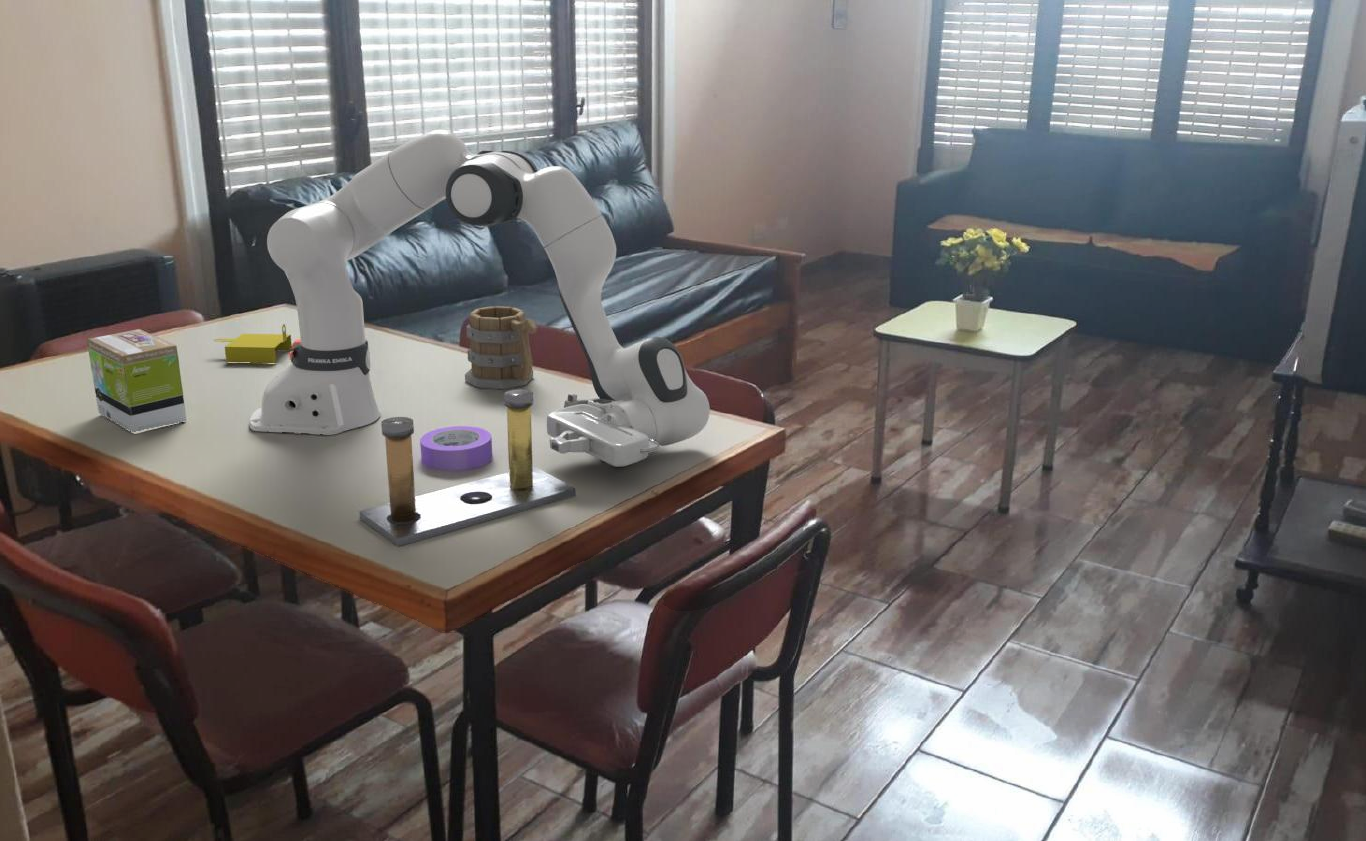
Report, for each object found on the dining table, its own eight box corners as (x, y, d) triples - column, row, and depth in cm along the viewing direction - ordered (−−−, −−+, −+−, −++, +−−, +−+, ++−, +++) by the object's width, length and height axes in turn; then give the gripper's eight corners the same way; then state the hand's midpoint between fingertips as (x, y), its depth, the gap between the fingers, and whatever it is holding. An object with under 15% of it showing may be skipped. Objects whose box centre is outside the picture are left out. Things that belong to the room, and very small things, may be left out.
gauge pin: (516, 491, 183) (513, 400, 178) (501, 482, 186) (498, 393, 181) (541, 484, 185) (538, 394, 180) (525, 476, 188) (522, 387, 184)
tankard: (456, 377, 243) (453, 305, 238) (511, 367, 250) (509, 297, 245) (504, 403, 228) (502, 326, 223) (561, 391, 235) (560, 317, 230)
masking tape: (429, 475, 193) (428, 453, 191) (414, 452, 203) (413, 430, 202) (500, 466, 197) (499, 444, 196) (482, 443, 207) (481, 422, 206)
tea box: (96, 416, 217) (84, 337, 212) (151, 404, 224) (140, 327, 219) (132, 436, 208) (121, 353, 203) (189, 422, 215) (179, 342, 210)
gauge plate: (398, 546, 167) (397, 538, 167) (360, 518, 176) (359, 510, 175) (575, 495, 185) (575, 487, 185) (533, 472, 194) (532, 465, 194)
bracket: (225, 314, 259) (295, 315, 259) (229, 348, 262) (298, 349, 262) (197, 332, 245) (271, 333, 245) (202, 369, 247) (275, 370, 247)
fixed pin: (396, 525, 170) (390, 429, 166) (382, 516, 174) (375, 420, 169) (424, 518, 173) (418, 422, 168) (410, 508, 176) (404, 414, 172)
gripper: (665, 465, 190) (594, 485, 181) (589, 430, 204) (520, 447, 196) (665, 427, 188) (593, 445, 179) (589, 395, 202) (519, 411, 194)
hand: (555, 446), depth 188 cm, fingers closed
